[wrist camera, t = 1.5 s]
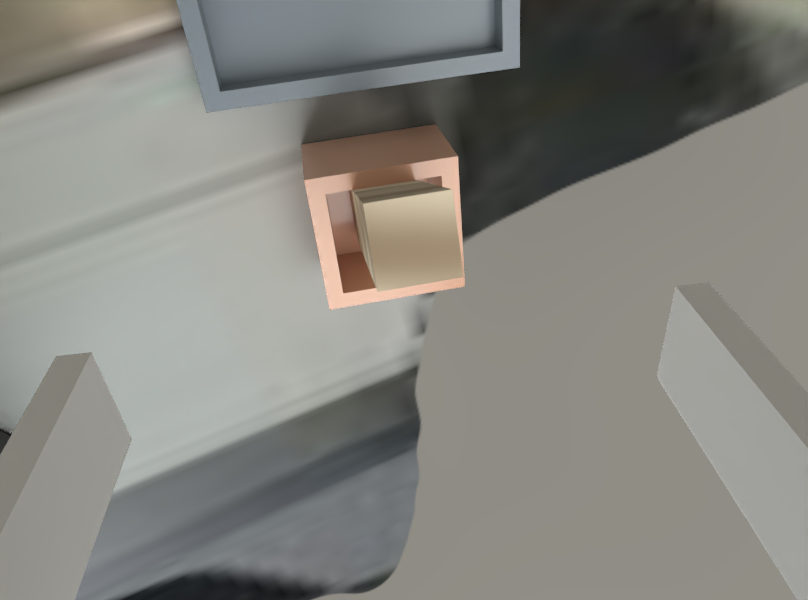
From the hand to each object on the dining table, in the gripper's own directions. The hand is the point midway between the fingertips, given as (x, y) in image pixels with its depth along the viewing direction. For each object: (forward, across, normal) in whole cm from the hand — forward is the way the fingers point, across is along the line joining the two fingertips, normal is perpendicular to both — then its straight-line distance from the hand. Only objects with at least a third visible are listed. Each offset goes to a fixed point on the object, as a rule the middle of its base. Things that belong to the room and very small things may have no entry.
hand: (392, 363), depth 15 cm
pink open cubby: (+27, 0, +9) cm, 29 cm away
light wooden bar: (+26, 0, +6) cm, 27 cm away
